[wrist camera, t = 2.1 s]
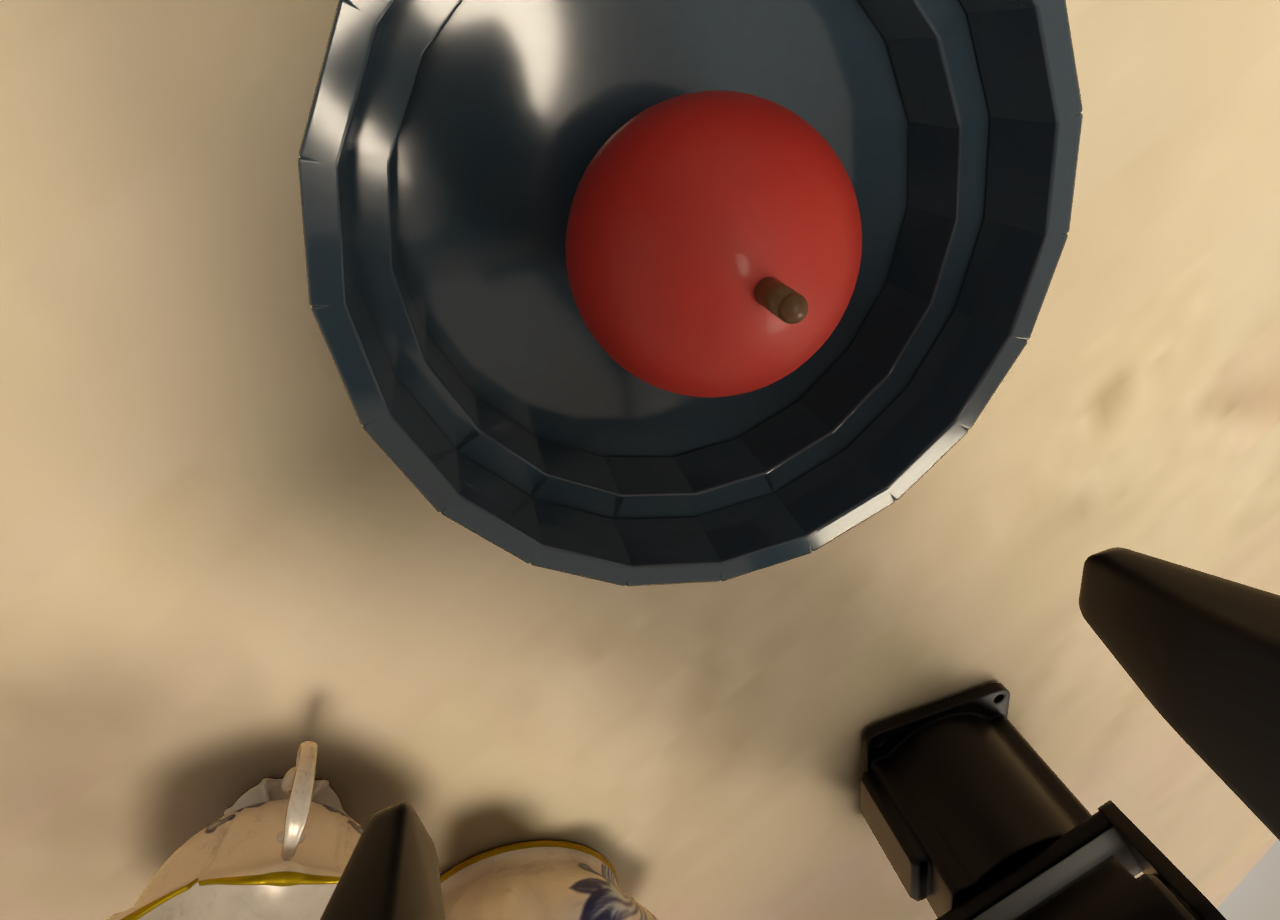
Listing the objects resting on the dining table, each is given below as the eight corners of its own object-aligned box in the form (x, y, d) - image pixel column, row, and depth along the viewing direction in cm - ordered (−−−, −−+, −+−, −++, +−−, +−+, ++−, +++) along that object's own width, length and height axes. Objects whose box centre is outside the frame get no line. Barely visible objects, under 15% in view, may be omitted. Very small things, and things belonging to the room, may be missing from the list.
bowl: (943, -232, 16) (1138, -340, 11) (929, 403, 23) (1041, 480, 19) (204, -98, 14) (104, -168, 9) (455, 544, 21) (463, 664, 17)
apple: (774, 58, 17) (979, 60, 11) (794, 309, 20) (961, 425, 14) (516, 118, 16) (573, 157, 10) (578, 369, 19) (650, 519, 13)
